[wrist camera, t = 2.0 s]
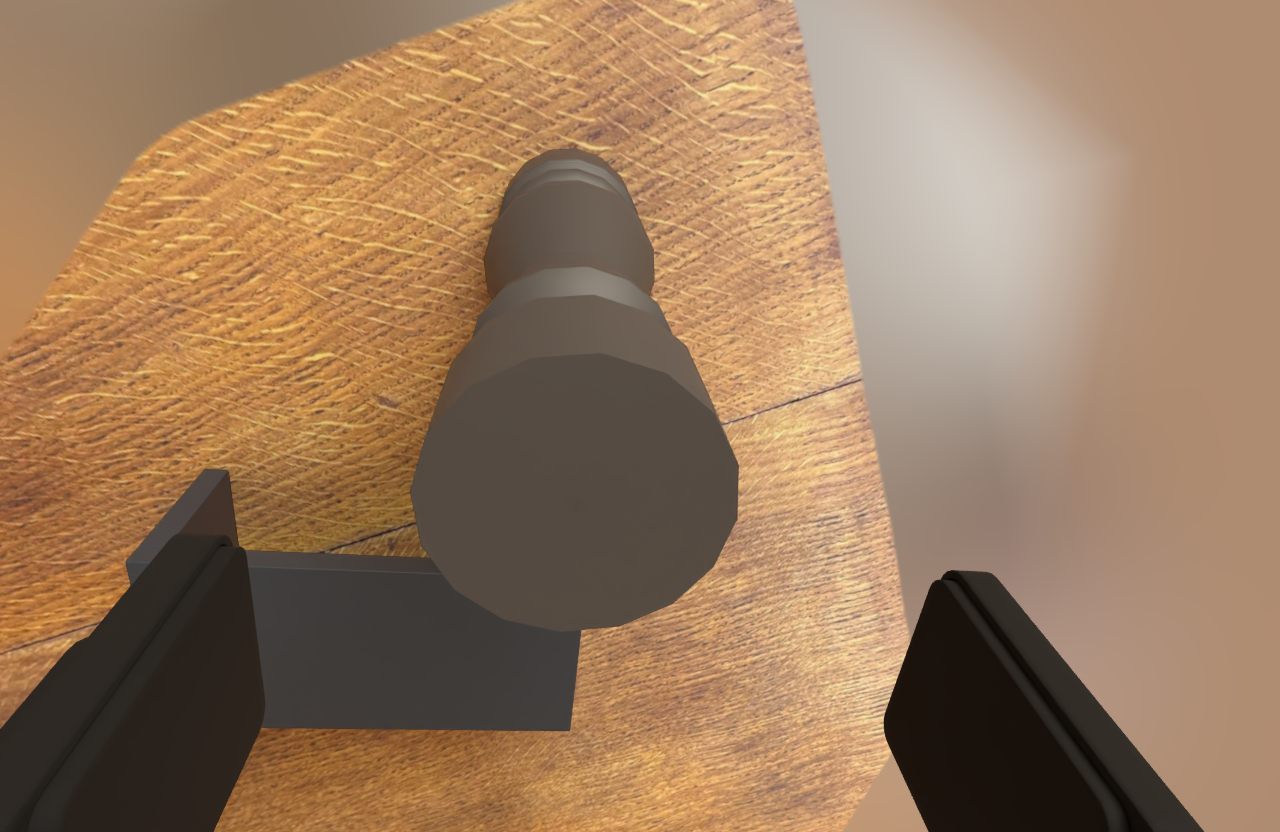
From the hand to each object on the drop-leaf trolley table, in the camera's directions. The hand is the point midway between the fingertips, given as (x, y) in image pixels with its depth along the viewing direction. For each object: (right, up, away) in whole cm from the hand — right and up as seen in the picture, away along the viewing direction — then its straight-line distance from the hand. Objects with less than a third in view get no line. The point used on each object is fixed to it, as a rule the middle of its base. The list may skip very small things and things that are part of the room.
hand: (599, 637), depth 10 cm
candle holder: (-3, +13, +25) cm, 28 cm away
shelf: (-13, -5, +32) cm, 35 cm away
